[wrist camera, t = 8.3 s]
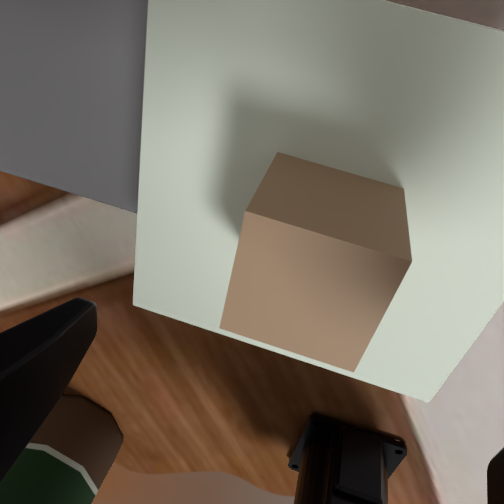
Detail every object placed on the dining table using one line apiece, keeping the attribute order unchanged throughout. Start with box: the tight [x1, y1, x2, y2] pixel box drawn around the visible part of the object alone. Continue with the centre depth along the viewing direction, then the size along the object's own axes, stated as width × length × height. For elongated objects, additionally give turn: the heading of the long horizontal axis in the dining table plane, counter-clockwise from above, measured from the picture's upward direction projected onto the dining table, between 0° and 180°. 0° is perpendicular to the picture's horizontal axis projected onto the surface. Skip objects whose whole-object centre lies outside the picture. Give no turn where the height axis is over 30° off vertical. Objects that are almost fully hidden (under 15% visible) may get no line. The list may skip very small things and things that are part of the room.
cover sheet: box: [133, 0, 504, 403], centre depth 13 cm, size 13×13×5 cm
